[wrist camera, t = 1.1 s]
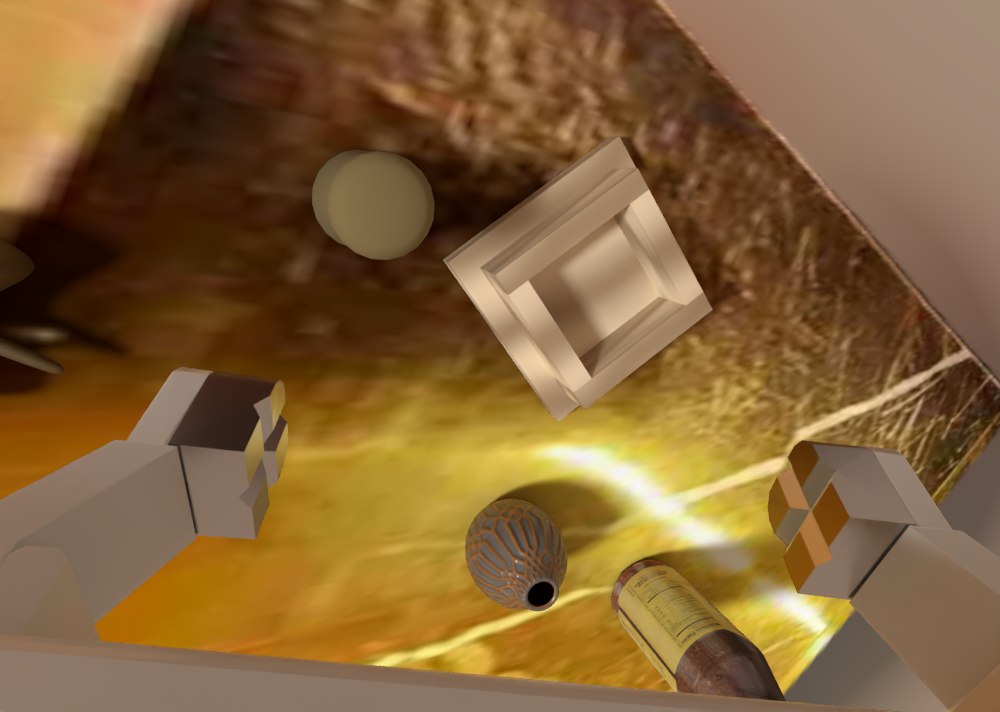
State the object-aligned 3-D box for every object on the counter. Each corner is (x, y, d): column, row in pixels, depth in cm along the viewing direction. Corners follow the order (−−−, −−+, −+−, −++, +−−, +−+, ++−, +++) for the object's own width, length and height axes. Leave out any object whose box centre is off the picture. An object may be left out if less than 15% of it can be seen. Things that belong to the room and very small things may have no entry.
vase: (508, 467, 49) (552, 524, 41) (560, 525, 52) (611, 589, 44) (437, 530, 49) (467, 600, 41) (493, 585, 51) (531, 662, 43)
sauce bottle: (668, 616, 57) (847, 823, 39) (602, 624, 55) (758, 846, 37) (679, 547, 56) (871, 729, 37) (612, 553, 54) (779, 748, 36)
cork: (428, 185, 42) (472, 187, 32) (380, 267, 43) (408, 295, 33) (343, 128, 40) (362, 112, 30) (293, 215, 40) (294, 229, 30)
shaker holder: (443, 259, 44) (461, 269, 39) (609, 137, 45) (645, 133, 40) (551, 414, 49) (578, 439, 44) (697, 301, 50) (738, 313, 46)
